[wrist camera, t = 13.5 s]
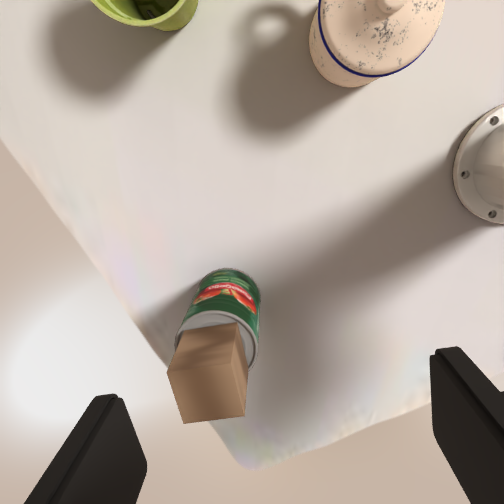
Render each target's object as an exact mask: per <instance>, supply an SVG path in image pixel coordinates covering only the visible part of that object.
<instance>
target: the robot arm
mask: <svg viewBox="0 0 504 504" xmlns="http://www.w3.org/2000/svg"><path fill="white" fill-rule="evenodd" d="M490 119H491V122H490ZM462 172H463V175H462V176H461V173H462ZM453 180H454V186H455V190H456V193H457V195H458V197H459V199H460V201H461V202H462V203H463V205H464V206H465V207H466V208H467V209H468V210H469V211H470V212H471V213H473V214H474V215H476V216H478V217H480V218H482V219H484V220H487V221H490V222H494V223H499V224H504V104H502V105H499V106H498V107H496V108H494V109H493V110H491V111H489V112H488V113H486V114H485V115H484V116H483V117H482V118H481V119H479V120H478V121H477V122H476V123H475V124H474V125H473V127H472V128H471V129H470V130H469V131H468V133H467V134H466V136H465V137H464V139H463V141H462V142H461V144H460V147H459V149H458V151H457V154H456V157H455V162H454V166H453ZM430 381H431V403H432V423H433V424H432V425H433V432H434V436H435V438H436V441H437V443H438V445H439V447H440V448H441V450H442V452H443V454H444V456H445V457H446V459H447V461H448V463H449V464H450V466H451V468H452V470H453V472H454V474H455V476H456V477H457V479H458V481H459V483H460V485H461V486H462V488H463V490H464V491H465V494H466V495H467V497H468V499H469V501H470V503H471V504H504V391H503V392H500V391H499V390H498V389H497V388H496V387H495V386H494V385H493V384H492V382H491V381H490V380H489V379H488V378H487V377H486V376H485V375H484V374H483V372H482V371H481V370H480V369H479V368H478V367H477V366H476V365H475V364H474V363H473V361H472V360H471V359H470V358H469V357H468V356H467V355H466V354H465V353H464V352H463V350H462V349H461V348H459V347H457V346H456V347H448V348H441V349H437V350H436V351H435V355H431V356H430ZM146 473H147V461H146V458H145V456H144V453H143V450H142V448H141V445H140V443H139V440H138V437H137V435H136V432H135V430H134V427H133V424H132V422H131V419H130V416H129V414H128V411H127V409H126V406H125V403H124V401H123V399H122V398H118V396H117V395H116V394H107V395H100V396H96V397H95V398H94V399H93V400H92V402H91V403H90V404H89V406H88V407H87V409H86V411H85V412H84V413H83V415H82V417H81V418H80V420H79V421H78V423H77V424H76V426H75V427H74V429H73V430H72V432H71V433H70V435H69V436H68V438H67V439H66V441H65V442H64V444H63V445H62V447H61V448H60V450H59V451H58V453H57V454H56V456H55V457H54V459H53V461H52V462H51V463H50V465H49V466H48V468H47V470H46V471H45V472H44V474H43V475H42V477H41V479H40V480H39V482H38V483H37V485H36V486H35V488H34V489H33V491H32V492H31V494H30V495H29V497H28V498H27V500H26V501H25V503H24V504H136V501H137V498H138V495H139V493H140V490H141V487H142V485H143V482H144V479H145V476H146Z"/></svg>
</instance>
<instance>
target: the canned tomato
mask: <svg viewBox="0 0 504 504" xmlns="http://www.w3.org/2000/svg"><path fill="white" fill-rule="evenodd" d="M260 302H261V295H260V290H259V288H258V285H257V284H256V282H255V281H254V279H253V278H252V277H250V276H249V275H248V274H246V273H245V272H243V271H241V270H238V269H233V268H222V269H218V270H215V271H213V272H211V273H209V274H208V275H207V276H206V277H205V278H204V279H203V280H202V281H201V283H200V285H199V287H198V290H197V292H196V294H195V296H194V299H193V301H192V303H191V305H190V307H189V309H188V311H187V313H186V316H185V318H184V320H183V322H182V325H181V327H180V329H179V330H178V332H177V335H176V338H175V352H176V349H177V347H178V345H179V342H180V340H181V338H182V335H183V333H184V331H185V330H190V329H197V328H203V327H209V326H216V325H222V324H228V323H235V322H238V327H239V331H240V335H241V339H242V343H243V347H244V351H245V356H246V360H247V364H248V372H249V371H250V369H251V368H252V367H253V365H254V363H255V361H256V359H257V354H258V334H259V315H260Z"/></svg>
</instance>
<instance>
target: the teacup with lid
mask: <svg viewBox="0 0 504 504" xmlns="http://www.w3.org/2000/svg"><path fill="white" fill-rule="evenodd" d="M444 4H445V0H319V4H318V8H317V11H316V13H315V16H314V18H313V21H312V24H311V28H310V34H309V48H310V54H311V57H312V60H313V63H314V65H315V67H316V68H317V70H318V71H319V72H320V74H321V75H322V76H323V77H324V78H325V79H327V80H328V81H330V82H331V83H333V84H335V85H338V86H342V87H358V86H362V85H365V84H368V83H370V82H372V81H374V80H376V79H378V78H380V77H383V76H388V75H391V74H394V73H396V72H399V71H400V70H402V69H404V68H406V67H407V66H409V65H410V64H411V63H413V62H414V61H415V60H416V59H417V58H418V57H419V56H420V55H421V54H422V53H423V52H424V51H425V50H426V48H427V47H428V46H429V44H430V42H431V41H432V39H433V37H434V36H435V34H436V31H437V29H438V27H439V24H440V21H441V18H442V15H443V10H444Z"/></svg>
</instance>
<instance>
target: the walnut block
mask: <svg viewBox="0 0 504 504" xmlns="http://www.w3.org/2000/svg"><path fill="white" fill-rule="evenodd" d="M167 375H168V378H169V381H170V384H171V387H172V390H173V393H174V396H175V399H176V402H177V405H178V408H179V411H180V414H181V417H182V420H183V423H184V424H186V423H194V422H202V421H210V420H218V419H226V418H233V417H241V416H244V415H245V403H246V391H247V379H248V364H247V360H246V356H245V351H244V347H243V343H242V339H241V335H240V331H239V327H238V322H235V323H228V324H222V325H216V326H209V327H203V328H197V329H190V330H185V331H184V333H183V335H182V338H181V340H180V342H179V345H178V347H177V349H176V352H175V354H174V356H173V359H172V361H171V364H170V366H169V368H168V371H167Z"/></svg>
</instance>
